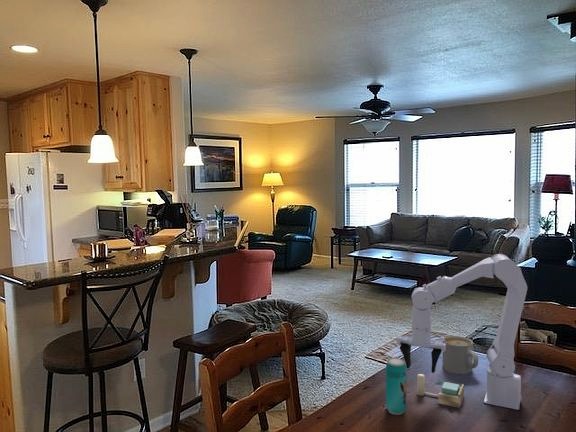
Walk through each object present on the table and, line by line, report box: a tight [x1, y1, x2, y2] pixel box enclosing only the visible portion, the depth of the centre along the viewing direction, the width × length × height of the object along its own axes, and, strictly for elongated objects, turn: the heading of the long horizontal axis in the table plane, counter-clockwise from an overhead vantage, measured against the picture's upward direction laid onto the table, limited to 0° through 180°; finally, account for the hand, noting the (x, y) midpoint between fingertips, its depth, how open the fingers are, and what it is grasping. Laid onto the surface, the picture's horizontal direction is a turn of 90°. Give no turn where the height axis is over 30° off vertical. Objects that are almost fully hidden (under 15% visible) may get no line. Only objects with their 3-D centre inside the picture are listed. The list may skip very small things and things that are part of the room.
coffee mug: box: [441, 335, 479, 375], centre depth 165 cm, size 13×10×10 cm
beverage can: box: [385, 357, 407, 416], centre depth 137 cm, size 6×6×15 cm
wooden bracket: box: [437, 383, 465, 408], centre depth 144 cm, size 6×8×4 cm
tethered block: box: [416, 373, 460, 398], centre depth 146 cm, size 12×4×6 cm, turn 61°
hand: (420, 369), depth 148 cm, fingers open, 7 cm apart
